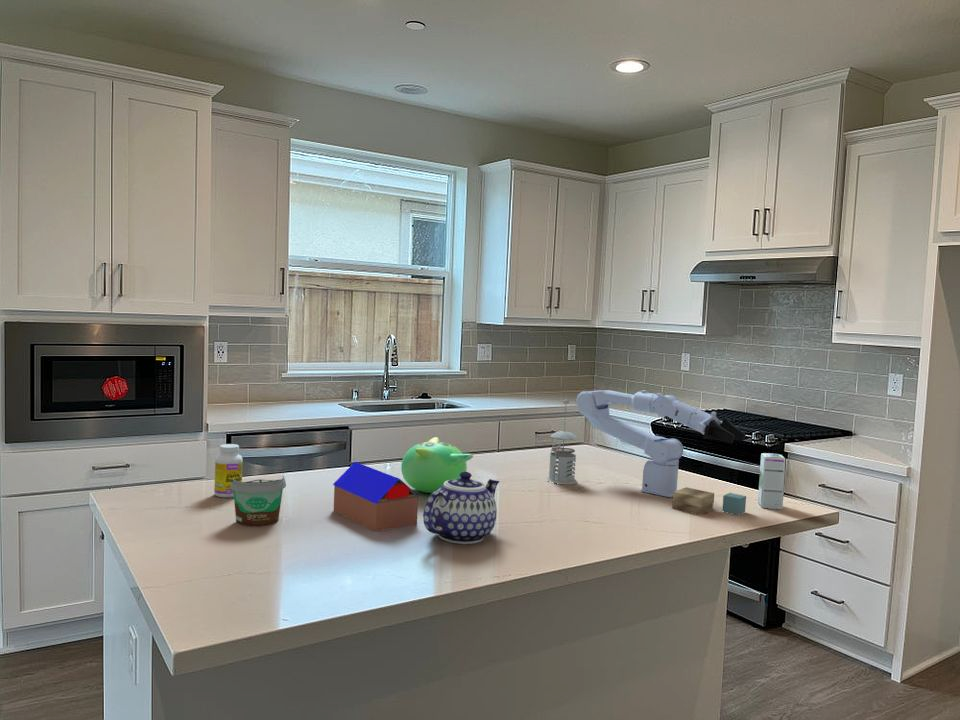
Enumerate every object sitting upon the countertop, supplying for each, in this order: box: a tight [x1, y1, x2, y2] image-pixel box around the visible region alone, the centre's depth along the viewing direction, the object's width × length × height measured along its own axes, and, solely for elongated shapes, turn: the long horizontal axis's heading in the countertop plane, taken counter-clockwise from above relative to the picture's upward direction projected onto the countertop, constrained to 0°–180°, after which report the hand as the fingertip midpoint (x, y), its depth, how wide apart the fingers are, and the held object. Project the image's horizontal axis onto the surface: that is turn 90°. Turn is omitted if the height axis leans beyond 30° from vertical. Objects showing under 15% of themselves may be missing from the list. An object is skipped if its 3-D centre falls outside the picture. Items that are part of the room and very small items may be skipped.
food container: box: [230, 475, 287, 528], centre depth 163 cm, size 12×6×10 cm, turn 117°
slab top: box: [672, 486, 715, 507], centre depth 195 cm, size 8×8×2 cm
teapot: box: [423, 471, 500, 545], centre depth 161 cm, size 25×15×15 cm, turn 139°
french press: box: [546, 399, 578, 485], centre depth 219 cm, size 10×12×25 cm
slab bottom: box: [671, 500, 714, 516], centre depth 195 cm, size 8×8×2 cm
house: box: [332, 461, 420, 532], centre depth 173 cm, size 12×20×12 cm, turn 40°
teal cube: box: [721, 492, 747, 516], centre depth 194 cm, size 4×4×4 cm
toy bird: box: [400, 436, 474, 494], centre depth 199 cm, size 18×17×15 cm
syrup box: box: [757, 452, 786, 511], centre depth 201 cm, size 6×6×14 cm
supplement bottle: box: [213, 443, 244, 499], centre depth 186 cm, size 7×7×13 cm
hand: (738, 438), depth 196 cm, fingers open, 7 cm apart
